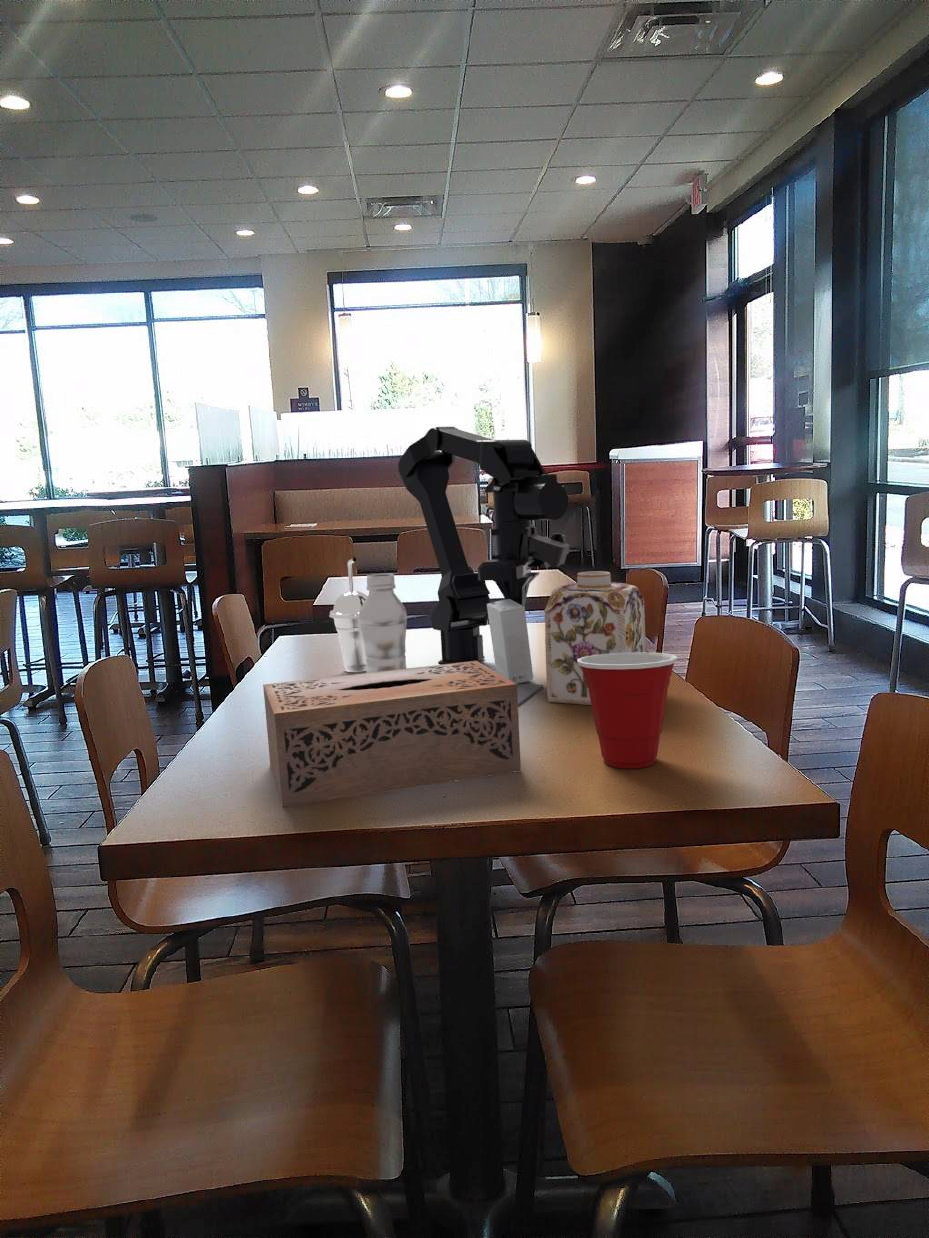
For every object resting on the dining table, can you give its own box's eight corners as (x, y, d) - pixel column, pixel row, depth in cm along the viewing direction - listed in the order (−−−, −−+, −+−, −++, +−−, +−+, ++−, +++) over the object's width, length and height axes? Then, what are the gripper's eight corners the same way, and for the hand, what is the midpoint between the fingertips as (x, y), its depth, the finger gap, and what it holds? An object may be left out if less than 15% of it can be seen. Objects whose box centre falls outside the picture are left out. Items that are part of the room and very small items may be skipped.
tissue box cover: (480, 739, 111) (476, 660, 109) (520, 773, 97) (517, 684, 96) (270, 768, 104) (263, 684, 102) (282, 809, 90) (274, 713, 88)
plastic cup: (661, 742, 104) (660, 642, 103) (692, 772, 94) (691, 660, 92) (570, 749, 104) (567, 648, 102) (591, 779, 93) (588, 667, 91)
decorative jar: (545, 703, 126) (540, 576, 123) (571, 684, 136) (567, 567, 133) (628, 708, 120) (624, 576, 118) (649, 688, 131) (646, 567, 128)
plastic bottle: (421, 717, 121) (413, 571, 118) (402, 731, 115) (392, 578, 112) (378, 715, 123) (369, 572, 120) (357, 729, 117) (346, 578, 114)
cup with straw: (387, 664, 159) (380, 552, 155) (373, 675, 150) (365, 557, 147) (342, 664, 160) (333, 554, 157) (325, 675, 151) (316, 559, 148)
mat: (433, 706, 127) (433, 704, 127) (470, 683, 140) (470, 682, 140) (512, 710, 122) (512, 708, 122) (543, 687, 135) (543, 685, 135)
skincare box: (534, 680, 138) (527, 605, 135) (508, 686, 137) (500, 611, 133) (519, 668, 144) (512, 597, 140) (493, 674, 143) (485, 602, 139)
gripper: (544, 522, 128) (550, 628, 131) (577, 514, 145) (582, 608, 148) (473, 525, 132) (480, 628, 135) (513, 518, 149) (519, 609, 152)
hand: (518, 618), depth 142 cm, fingers closed
